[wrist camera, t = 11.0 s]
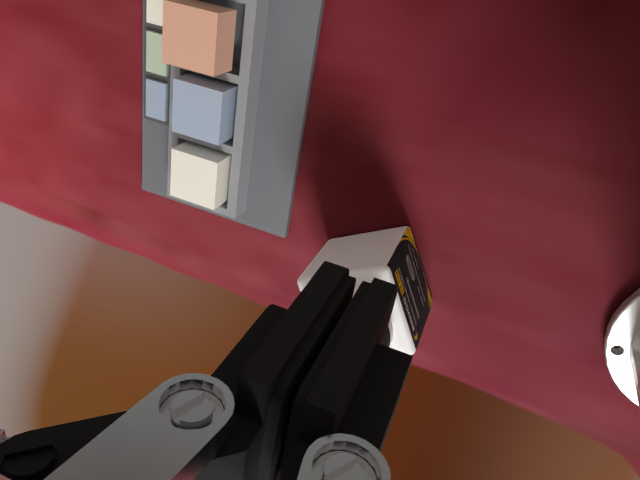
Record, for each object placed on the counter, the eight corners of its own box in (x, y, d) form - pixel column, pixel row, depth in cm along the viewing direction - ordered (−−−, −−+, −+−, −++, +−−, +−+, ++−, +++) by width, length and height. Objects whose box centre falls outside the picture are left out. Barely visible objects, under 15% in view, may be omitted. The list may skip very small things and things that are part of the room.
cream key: (233, 153, 44) (217, 163, 42) (229, 198, 46) (214, 210, 44) (189, 139, 45) (171, 148, 43) (187, 184, 47) (169, 195, 45)
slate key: (239, 85, 41) (222, 92, 39) (234, 136, 43) (218, 145, 41) (192, 72, 42) (173, 78, 40) (189, 122, 44) (171, 131, 42)
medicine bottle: (434, 303, 45) (399, 403, 35) (353, 311, 48) (301, 405, 38) (410, 223, 43) (366, 306, 33) (327, 237, 46) (264, 317, 36)
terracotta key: (236, 10, 37) (217, 13, 35) (231, 70, 39) (213, 76, 37) (184, -3, 38) (163, -1, 36) (182, 56, 40) (161, 62, 38)
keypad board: (342, -110, 35) (328, -114, 33) (287, 235, 47) (275, 248, 45) (148, -145, 38) (125, -151, 36) (146, 187, 50) (128, 197, 48)
